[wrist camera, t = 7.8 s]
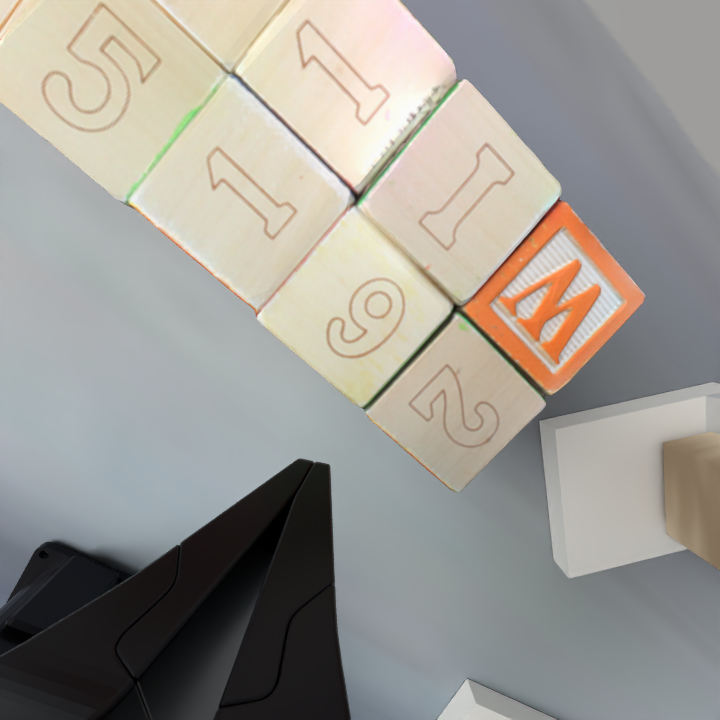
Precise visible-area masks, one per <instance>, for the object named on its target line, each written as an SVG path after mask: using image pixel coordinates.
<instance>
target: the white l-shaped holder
mask: <svg viewBox="0 0 720 720" xmlns="http://www.w3.org/2000/svg"><path fill="white" fill-rule="evenodd" d="M539 424H540V434H541V444H542V453H543V463H544V472H545V482H546V491H547V501H548V510H549V520H550V530H551V539H552V549H553V558H554V562H555V563H556V564H557V565H558V566H559V567H560V568H561V570H562V571H563V572H564V573H565V574H566V575H567V577H568V578H569V579H570V578H574V577H578V576H582V575H586V574H590V573H594V572H598V571H602V570H606V569H610V568H614V567H618V566H622V565H626V564H630V563H634V562H638V561H642V560H646V559H650V558H654V557H658V556H662V555H666V554H670V553H674V552H678V551H682V550H686V549H688V548H686V547H685V546H683V545H682V544H681V543H679V542H678V541H676V540H675V539H673V538H672V537H670V536H669V535H667V534H666V510H665V482H664V454H663V443H664V442H668V441H673V440H677V439H681V438H686V437H690V436H694V435H699V434H703V433H707V432H714V433H717V434H720V384H719V383H714V382H711V383H706V384H702V385H697V386H693V387H688V388H684V389H679V390H675V391H670V392H666V393H661V394H657V395H652V396H648V397H644V398H639V399H635V400H630V401H626V402H621V403H617V404H612V405H608V406H603V407H599V408H594V409H590V410H585V411H581V412H576V413H572V414H567V415H563V416H558V417H554V418H549V419H545V420H540V421H539Z"/></svg>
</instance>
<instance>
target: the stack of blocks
mask: <svg viewBox="0 0 720 720" xmlns="http://www.w3.org/2000/svg"><path fill="white" fill-rule="evenodd" d="M0 102H1V103H3V104H4V105H5V106H6V107H7V108H9V109H10V110H11V111H12V112H13V113H15V114H16V115H17V116H18V117H19V118H21V119H22V120H23V121H24V122H25V123H26V124H28V125H29V126H30V127H31V128H32V129H34V130H35V131H36V132H37V133H38V134H40V135H41V136H42V137H43V138H44V139H45V140H47V141H48V142H49V143H50V144H51V145H53V146H54V147H55V148H56V149H57V150H59V151H60V152H61V153H62V154H64V155H65V156H66V157H67V158H68V159H70V160H71V161H72V162H73V163H74V164H76V165H77V166H78V167H79V168H80V169H82V170H83V171H84V172H85V173H86V174H88V175H89V176H90V177H91V178H92V179H93V180H95V181H96V182H97V183H98V184H99V185H101V186H102V187H103V188H104V189H105V190H106V191H108V192H109V193H110V194H111V195H112V196H114V197H115V198H116V199H117V200H118V201H120V202H122V203H123V204H125V205H127V206H129V207H131V208H133V209H135V210H137V211H139V212H140V213H141V214H142V215H143V216H144V217H145V218H146V219H147V220H149V221H150V222H151V223H152V224H153V225H154V226H155V227H156V228H158V229H159V230H160V231H161V232H162V233H163V234H165V235H166V236H167V237H168V238H169V239H171V240H172V241H173V242H174V243H175V244H176V245H178V246H179V247H180V248H181V249H182V250H184V251H185V252H186V253H187V254H188V255H189V256H191V257H192V258H193V259H194V260H196V261H197V262H198V263H199V264H200V265H202V266H203V267H204V268H205V269H206V270H207V271H209V272H210V273H211V274H212V275H213V276H214V277H215V278H217V279H218V280H219V281H220V282H221V283H222V284H224V285H225V286H226V287H227V288H228V289H229V290H231V291H232V292H233V293H234V294H235V295H237V296H238V297H239V298H240V299H241V300H243V301H244V302H245V303H247V304H248V305H249V306H251V307H252V308H253V309H254V310H255V313H256V317H257V320H258V321H259V322H260V323H261V324H262V325H263V326H264V327H265V328H266V329H268V330H269V331H270V332H271V333H272V334H273V335H275V336H276V337H277V338H278V339H279V340H280V341H281V342H283V343H284V344H285V345H286V346H287V347H289V348H290V349H291V350H292V351H293V352H294V353H296V354H297V355H298V356H299V357H300V358H302V359H303V360H304V361H305V362H306V363H308V364H309V365H310V366H311V367H312V368H314V369H315V370H316V371H317V372H318V373H319V374H321V375H322V376H323V377H324V378H325V379H326V380H327V381H329V382H330V383H331V384H332V385H333V386H334V387H335V388H337V389H338V390H339V391H340V392H341V393H342V394H343V395H345V396H346V397H347V398H348V399H349V400H350V401H352V402H353V403H354V404H356V405H357V406H359V407H361V408H363V409H364V411H365V413H366V414H367V416H368V417H369V418H370V420H371V421H372V422H373V423H374V424H376V425H377V426H378V427H379V428H380V429H382V430H383V431H384V432H385V433H386V434H387V435H388V436H390V437H391V438H392V439H393V440H394V441H395V442H396V443H397V444H399V445H400V446H401V447H402V448H403V449H404V450H405V451H407V452H408V453H409V454H410V455H411V456H412V457H413V458H415V459H416V460H417V461H418V462H419V463H420V464H421V465H423V466H424V467H425V468H426V469H427V470H428V471H429V472H431V473H432V474H433V475H434V476H435V477H436V478H438V479H439V480H440V481H441V482H442V483H443V484H444V485H446V486H447V487H448V488H449V489H451V490H453V491H454V492H459V491H461V490H463V489H464V488H465V487H466V486H467V485H468V484H469V483H470V481H471V480H472V479H473V478H474V477H475V476H476V475H477V474H478V473H479V472H480V471H481V470H482V469H483V468H484V467H485V466H486V465H487V464H488V463H489V462H490V461H491V460H492V459H493V458H494V457H495V456H496V455H497V454H498V453H499V452H500V451H501V450H502V449H503V448H504V447H505V446H506V445H507V444H508V443H509V442H510V441H511V440H512V439H513V438H514V437H515V436H516V435H517V434H518V433H519V432H520V431H521V430H522V429H523V428H524V427H525V426H526V425H527V424H528V423H529V422H530V421H531V420H532V419H534V418H535V417H536V416H537V415H538V414H539V413H540V412H541V411H542V410H543V409H544V407H545V406H546V402H545V399H544V396H545V395H553V394H554V393H555V392H557V391H558V390H560V389H561V388H562V387H563V386H564V385H566V384H567V383H568V382H569V381H570V380H571V379H572V378H573V376H574V375H575V374H576V373H577V372H578V371H579V370H580V369H581V368H582V367H583V366H584V365H585V364H586V363H587V362H588V361H589V360H590V359H591V358H592V357H593V356H594V354H595V353H596V352H597V351H598V350H599V349H600V348H601V347H602V346H603V345H604V344H605V343H606V342H607V341H608V340H609V339H610V338H611V337H612V336H613V334H614V333H615V332H616V331H617V330H618V329H619V328H620V327H621V326H622V325H623V324H624V323H625V322H626V321H627V320H628V319H629V317H630V316H631V315H632V314H633V313H634V312H635V311H636V310H637V309H638V308H639V306H640V305H641V304H642V303H643V301H644V299H645V294H644V293H643V292H642V291H641V289H640V288H639V287H638V286H637V284H636V283H635V282H634V281H633V280H632V279H631V277H630V276H629V275H628V274H627V273H626V272H625V270H624V269H623V268H622V267H621V266H620V265H619V264H618V262H617V261H616V260H615V259H614V258H613V257H612V256H611V254H610V253H609V252H608V251H607V250H606V249H605V247H604V246H603V245H602V244H601V242H600V241H599V240H598V238H597V237H596V236H595V235H594V233H593V232H592V231H591V230H590V229H589V228H588V227H587V226H586V225H585V224H584V223H583V221H582V220H581V219H580V218H579V217H578V215H577V214H576V213H575V212H574V211H573V210H572V208H571V207H570V206H569V205H568V204H567V203H566V202H563V201H561V200H559V197H560V195H561V192H562V189H561V186H560V183H559V182H558V181H557V180H556V179H555V178H554V177H553V176H552V175H551V174H550V172H549V171H548V170H547V169H546V168H545V167H544V165H543V164H542V163H541V161H540V160H539V159H538V158H537V156H536V155H535V154H534V153H533V152H532V151H531V150H530V149H529V148H528V147H527V146H526V145H525V144H524V143H523V141H522V140H521V139H520V138H519V137H518V136H517V134H516V133H515V132H514V131H513V130H512V129H511V127H510V126H509V125H508V124H507V123H506V121H505V120H504V119H503V118H502V117H501V116H500V115H499V113H498V112H497V111H496V110H495V109H494V108H493V107H492V106H491V105H490V104H489V103H488V101H487V100H486V99H485V98H484V97H483V96H482V95H481V94H480V93H479V92H478V90H477V89H476V88H475V87H474V86H473V85H472V84H471V83H470V82H468V81H467V80H460V81H459V80H457V79H456V68H455V65H454V62H453V59H452V58H451V57H450V56H449V55H448V54H447V53H446V52H445V51H444V50H443V48H442V47H441V46H440V44H439V43H438V42H437V41H436V39H435V38H434V37H433V36H432V35H431V34H430V33H429V32H428V31H427V30H426V29H425V28H424V27H423V26H422V25H421V24H420V22H419V21H418V20H417V19H416V18H415V17H414V15H413V14H412V13H411V12H410V11H409V10H408V9H407V7H406V6H405V4H404V3H403V2H402V1H401V0H0Z"/></svg>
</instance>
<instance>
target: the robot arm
mask: <svg viewBox="0 0 720 720" xmlns="http://www.w3.org/2000/svg"><path fill="white" fill-rule="evenodd" d="M47 552H48V553H47ZM0 720H351V715H350V709H349V703H348V697H347V690H346V684H345V678H344V672H343V666H342V659H341V652H340V644H339V637H338V627H337V614H336V595H335V575H334V549H333V524H332V498H331V473H330V465H329V464H325V463H321V462H315V463H314V462H313V461H311V460H306V459H297V460H296V461H294V462H293V463H292V464H290V465H289V466H287V467H286V468H285V469H283V470H282V471H280V472H279V473H278V474H276V475H275V476H273V477H272V478H271V479H269V480H268V481H266V482H265V483H264V484H262V485H261V486H259V487H258V488H257V489H255V490H254V491H252V492H251V493H250V494H248V495H247V496H245V497H244V498H243V499H241V500H240V501H238V502H237V503H236V504H234V505H233V506H231V507H230V508H229V509H227V510H226V511H224V512H223V513H222V514H220V515H219V516H217V517H216V518H215V519H213V520H212V521H210V522H209V523H208V524H206V525H205V526H203V527H202V528H201V529H199V530H198V531H196V532H195V533H193V534H192V535H191V536H189V537H188V538H186V539H185V540H184V541H182V542H181V544H180V545H176V546H175V547H174V548H172V549H171V550H169V551H168V552H167V553H165V554H164V555H162V556H161V557H160V558H158V559H157V560H155V561H154V562H152V563H151V564H149V565H148V566H146V567H145V568H143V569H142V570H141V571H139V572H138V573H136V574H135V575H133V576H130V575H127V574H125V573H123V572H120V571H118V570H116V569H113V568H111V567H109V566H106V565H104V564H102V563H99V562H97V561H95V560H92V559H90V558H88V557H86V556H83V555H81V554H79V553H76V552H74V551H72V550H69V549H67V548H65V547H62V546H60V545H58V544H55V543H52V542H46V543H43V544H42V545H41V546H40V547H38V548H37V549H36V550H35V552H34V554H33V555H32V557H31V559H30V561H29V563H28V565H27V566H26V568H25V570H24V572H23V574H22V575H21V577H20V579H19V581H18V583H17V585H16V586H15V588H14V590H13V592H12V594H11V595H10V597H9V599H8V601H7V603H6V604H5V605H4V606H3V607H2V608H1V609H0Z"/></svg>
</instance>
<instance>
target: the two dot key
mask: <svg viewBox="0 0 720 720" xmlns="http://www.w3.org/2000/svg"><path fill="white" fill-rule="evenodd" d="M663 454H664V482H665V510H666V534H667V535H669V536H670V537H672V538H673V539H675V540H676V541H678V542H679V543H681V544H682V545H683V546H685V547H686V548H688V549H689V550H691V551H692V552H694V553H695V554H697V555H698V556H699V557H701V558H702V559H704V560H705V561H707V562H708V563H710V564H711V565H713V566H714V567H715V568H717V569H718V570H720V434H717V433H714V432H707V433H703V434H699V435H694V436H690V437H686V438H681V439H677V440H673V441H668V442H664V443H663Z"/></svg>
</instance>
